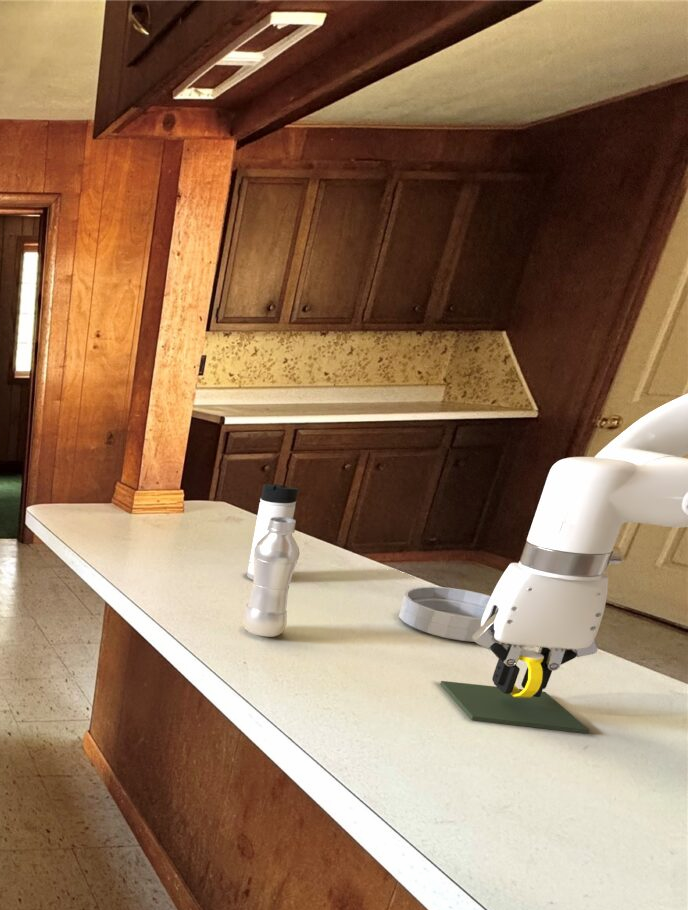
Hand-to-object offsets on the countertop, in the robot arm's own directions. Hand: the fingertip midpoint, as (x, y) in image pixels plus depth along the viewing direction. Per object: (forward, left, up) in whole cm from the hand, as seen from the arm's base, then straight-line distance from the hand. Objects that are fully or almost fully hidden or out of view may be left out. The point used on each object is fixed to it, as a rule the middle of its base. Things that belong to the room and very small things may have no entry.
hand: (516, 689), depth 88 cm
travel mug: (+22, -48, -3) cm, 53 cm away
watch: (0, 0, -1) cm, 1 cm away
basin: (-4, -29, -3) cm, 29 cm away
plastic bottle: (+27, -18, -3) cm, 33 cm away
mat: (0, 0, -3) cm, 3 cm away
